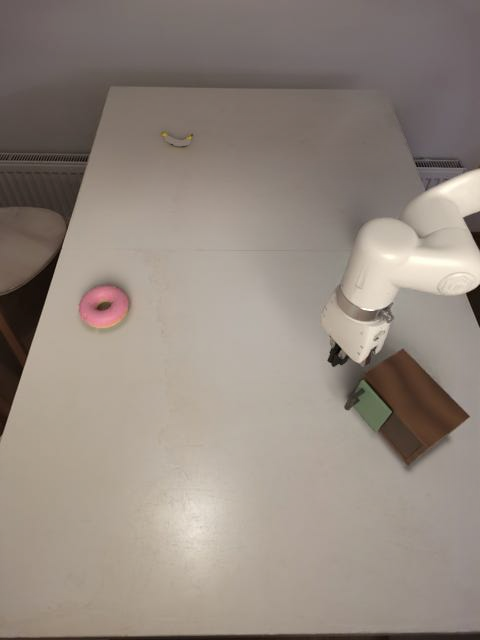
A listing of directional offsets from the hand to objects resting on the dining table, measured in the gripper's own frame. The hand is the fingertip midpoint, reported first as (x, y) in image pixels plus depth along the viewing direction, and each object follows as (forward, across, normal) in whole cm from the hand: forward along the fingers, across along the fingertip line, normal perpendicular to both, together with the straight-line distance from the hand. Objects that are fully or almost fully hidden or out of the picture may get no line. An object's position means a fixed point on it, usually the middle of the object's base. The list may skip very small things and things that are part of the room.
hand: (336, 360), depth 76 cm
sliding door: (+13, -8, -2) cm, 15 cm away
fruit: (+14, +90, -15) cm, 92 cm away
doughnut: (+14, +42, +29) cm, 53 cm away
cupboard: (+13, -12, -9) cm, 20 cm away
